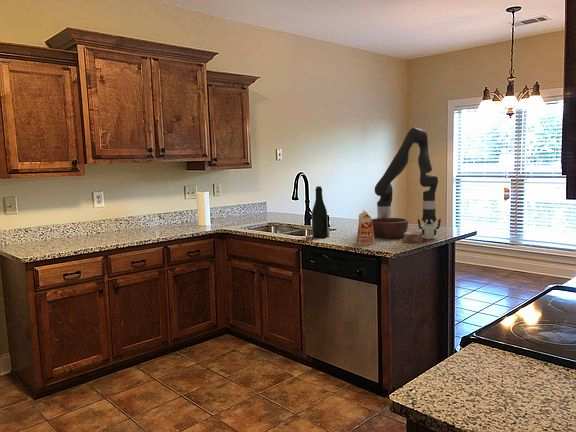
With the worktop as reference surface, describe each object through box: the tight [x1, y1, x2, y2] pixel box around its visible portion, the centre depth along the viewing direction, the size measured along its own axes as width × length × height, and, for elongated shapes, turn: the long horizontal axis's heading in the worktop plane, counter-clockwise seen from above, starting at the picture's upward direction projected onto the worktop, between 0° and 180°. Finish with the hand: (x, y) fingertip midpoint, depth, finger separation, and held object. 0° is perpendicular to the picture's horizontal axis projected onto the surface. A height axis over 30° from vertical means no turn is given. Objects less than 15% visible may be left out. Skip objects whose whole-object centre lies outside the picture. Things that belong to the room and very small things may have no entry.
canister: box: [423, 223, 435, 240], centre depth 292 cm, size 6×6×9 cm
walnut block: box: [403, 231, 424, 243], centre depth 285 cm, size 10×10×5 cm
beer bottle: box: [311, 185, 329, 239], centre depth 311 cm, size 10×10×33 cm
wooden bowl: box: [371, 217, 409, 239], centre depth 306 cm, size 25×25×10 cm
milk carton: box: [355, 208, 375, 246], centre depth 282 cm, size 9×9×20 cm
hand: (429, 235), depth 293 cm, fingers closed on canister, 5 cm apart
